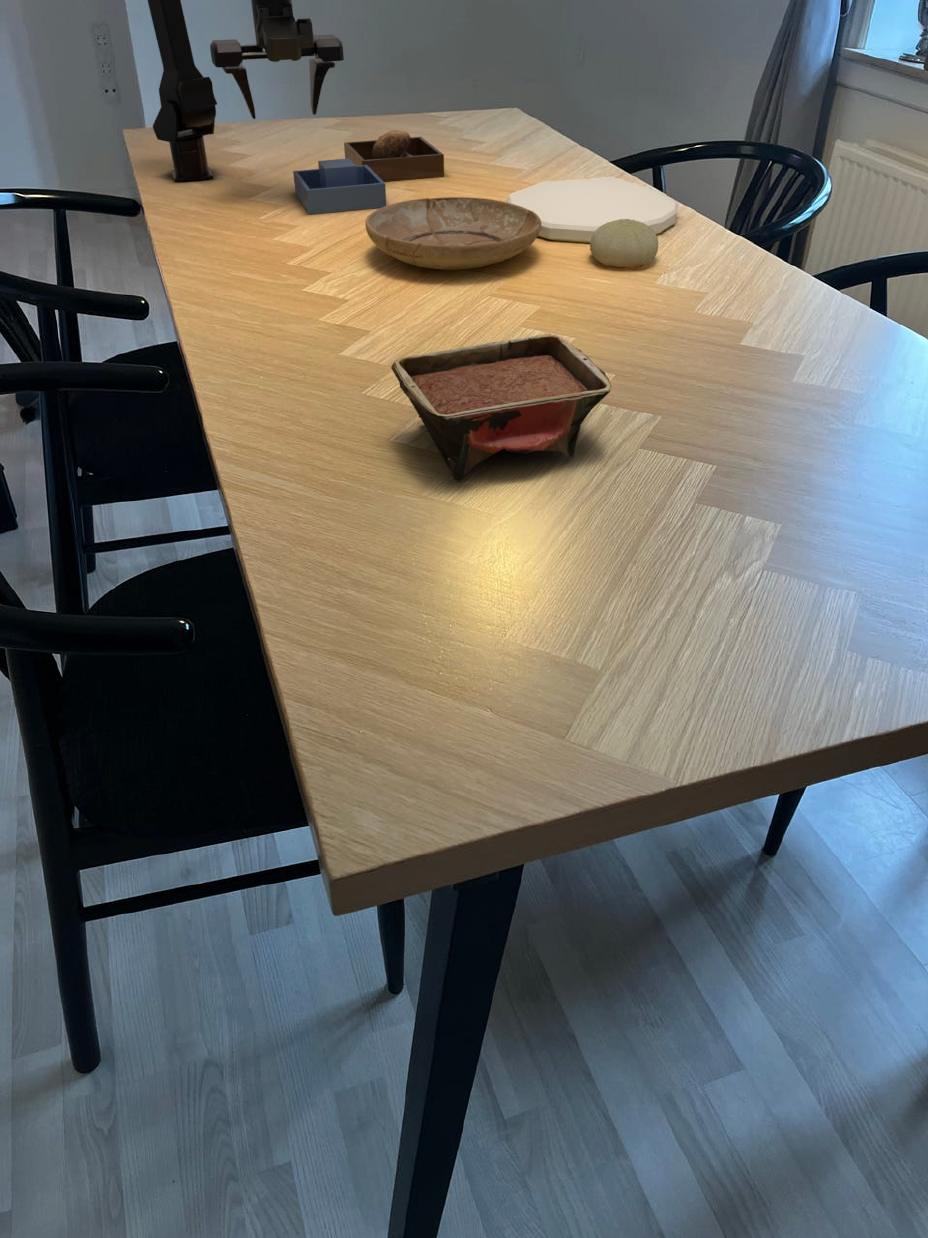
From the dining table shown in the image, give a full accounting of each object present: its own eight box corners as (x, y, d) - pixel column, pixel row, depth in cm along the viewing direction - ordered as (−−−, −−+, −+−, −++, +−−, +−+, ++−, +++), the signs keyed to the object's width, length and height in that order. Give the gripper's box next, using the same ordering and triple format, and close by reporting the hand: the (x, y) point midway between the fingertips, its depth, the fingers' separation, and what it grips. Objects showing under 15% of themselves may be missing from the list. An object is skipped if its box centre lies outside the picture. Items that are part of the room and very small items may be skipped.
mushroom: (428, 143, 165) (406, 112, 161) (413, 172, 161) (390, 141, 157) (396, 161, 170) (374, 132, 166) (381, 190, 167) (358, 160, 163)
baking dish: (605, 487, 85) (629, 378, 80) (413, 489, 79) (425, 373, 74) (546, 427, 96) (564, 328, 91) (375, 426, 91) (383, 321, 85)
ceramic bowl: (544, 285, 120) (546, 244, 117) (359, 285, 120) (356, 245, 117) (536, 230, 138) (537, 193, 135) (375, 230, 138) (373, 194, 135)
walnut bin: (345, 163, 169) (343, 142, 167) (421, 157, 173) (421, 136, 170) (363, 183, 159) (362, 160, 157) (444, 176, 162) (443, 154, 160)
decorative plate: (548, 220, 128) (486, 175, 146) (546, 252, 130) (486, 204, 149) (711, 203, 134) (633, 162, 152) (707, 234, 136) (630, 190, 155)
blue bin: (295, 193, 154) (292, 170, 152) (368, 187, 157) (367, 164, 154) (309, 214, 145) (306, 190, 143) (386, 207, 148) (385, 183, 145)
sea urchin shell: (676, 242, 127) (657, 207, 120) (647, 294, 127) (627, 262, 120) (620, 228, 132) (599, 193, 125) (592, 279, 132) (570, 247, 125)
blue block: (321, 194, 152) (318, 160, 149) (351, 191, 153) (349, 158, 150) (327, 202, 148) (324, 168, 145) (358, 199, 149) (356, 165, 146)
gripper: (209, 2, 126) (228, 131, 136) (347, -4, 130) (355, 122, 140) (201, -6, 134) (219, 116, 144) (331, -11, 139) (340, 108, 148)
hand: (284, 116), depth 144 cm, fingers open, 9 cm apart
